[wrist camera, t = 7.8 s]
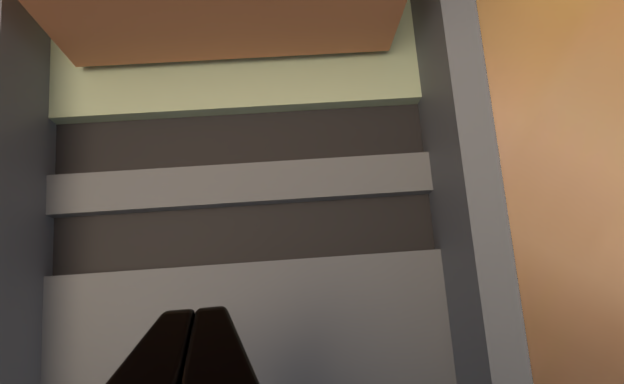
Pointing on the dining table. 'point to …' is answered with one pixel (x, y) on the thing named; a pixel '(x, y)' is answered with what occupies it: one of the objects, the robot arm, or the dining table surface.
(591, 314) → the dining table surface
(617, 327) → the dining table surface
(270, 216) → the gray open tray
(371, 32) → the terracotta block
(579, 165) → the dining table surface
